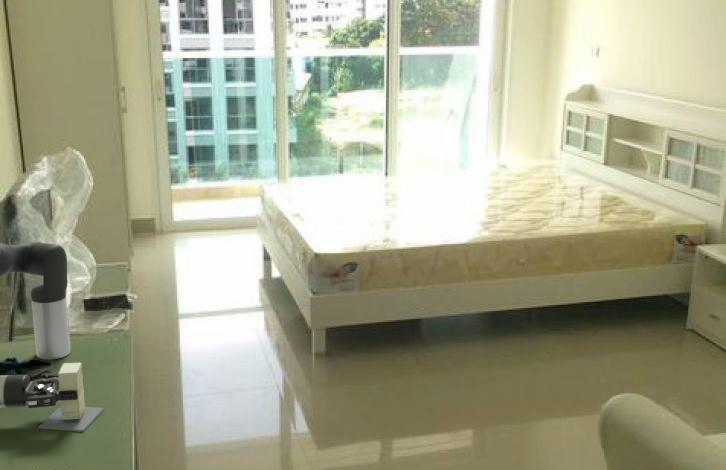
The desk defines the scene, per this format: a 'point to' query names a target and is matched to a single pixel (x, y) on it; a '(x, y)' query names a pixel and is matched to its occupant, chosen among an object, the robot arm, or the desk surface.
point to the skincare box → (71, 380)
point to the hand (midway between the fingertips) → (80, 388)
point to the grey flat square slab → (71, 420)
